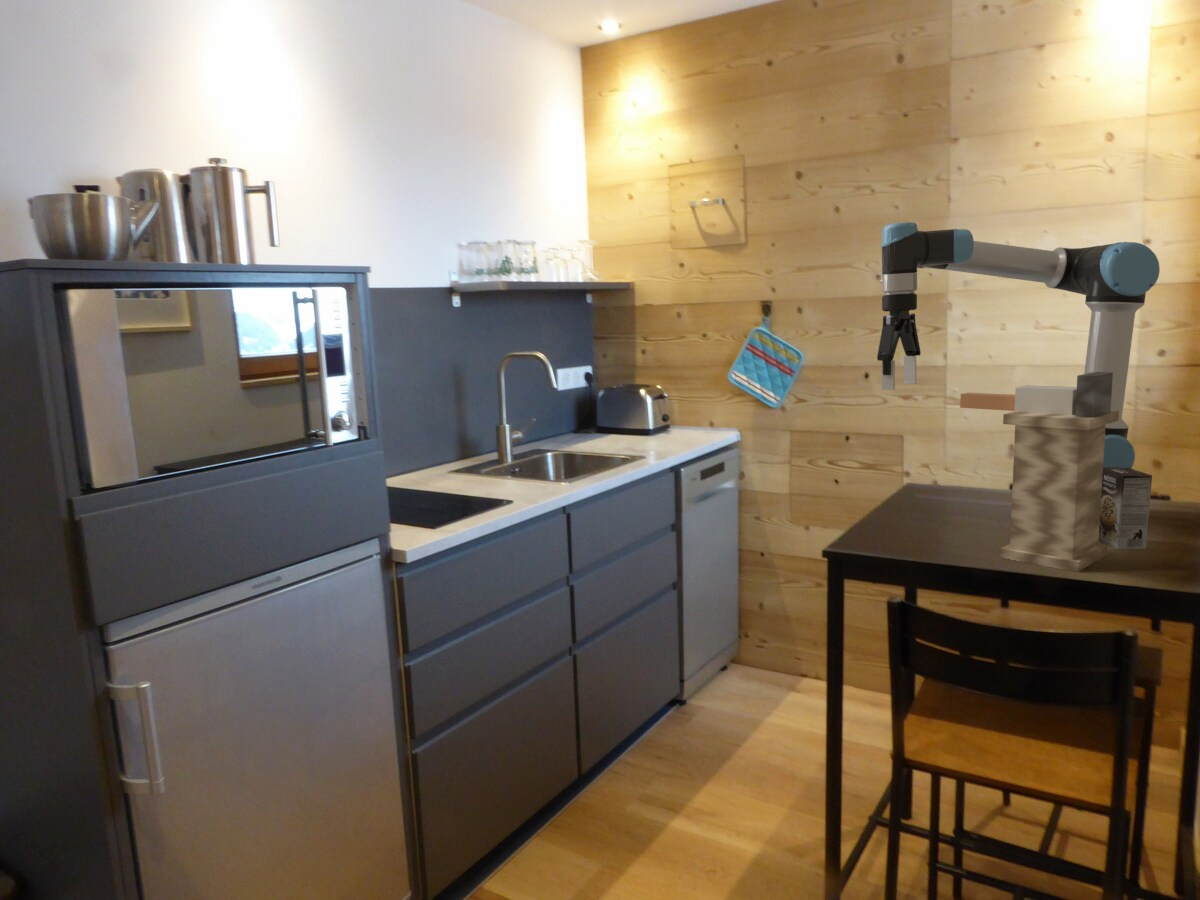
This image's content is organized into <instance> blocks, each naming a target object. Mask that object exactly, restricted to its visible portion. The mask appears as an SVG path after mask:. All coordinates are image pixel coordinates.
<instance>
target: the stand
mask: <svg viewBox="0 0 1200 900" xmlns="http://www.w3.org/2000/svg"><path fill="white" fill-rule="evenodd" d="M1076 376H1077V377H1076V387H1077V392H1076V410H1075V414H1074V415H1062V414H1045V413H1029V412H1015V411H1010V412H1008V413H1004V414H1003V416H1002V417H1003V418H1002V424H1003V425H1009V426H1010V425H1013V426H1014V443H1013V444H1014V446H1013V447H1014V448H1013V467H1012V469H1013V470H1012V486H1011V487H1012V488H1011V489H1012V491H1011V511H1010V512H1011V514H1010V532H1009V533H1010V536H1009V537H1010V539H1009V544H1007V545H1005V546H1003V547H1001V548H1000V550H999V558H1000V559H1003V558H1004V559H1005V560H1008V559H1010V561H1014V560H1016V561H1015V562H1020V561H1022V562H1021V563H1025V562H1027V563H1026V564H1031V563H1032V564H1031V565H1036V564H1037V565H1038V566H1043V567H1048V568H1055V569H1059V570H1063V571H1064V570H1065V571H1071V572H1076V573H1079V572H1080V571H1082V570H1084V569H1085V568H1087V567H1089V566H1090V565H1092V564H1094V563H1095V562H1096V561H1098V560H1099V559H1102V558H1103V557H1104V556H1106V555H1107V554H1108V550H1109V549H1108V548H1109V545H1108V544H1106V543H1103V542H1102V543H1100V542H1099V541H1100V540H1099V526H1100V509H1101V492H1102V476H1103V459H1104V443H1105V426H1106V424H1110V423H1113V422H1116V421H1118V419H1119V411H1113V410H1111V395H1112V379H1113V372H1093V373H1088V374H1084V373H1083V374H1078V375H1076Z"/></svg>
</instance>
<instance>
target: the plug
mask: <svg viewBox="0 0 1200 900" xmlns="http://www.w3.org/2000/svg"><path fill="white" fill-rule="evenodd" d="M1076 392H1077V386H1059V385H1058V386H1056V385H1055V386H1053V385H1028V384H1027V385H1021V386H1017V387H1015V391H1014V394H1006V393H983V392H965V393H964V392H963V393H960V403H959V404H960V405H959V407H960V408H961V409H975V410H993V411H1009V412H1029V413H1045V414H1062V415H1074V414H1075V410H1076Z"/></svg>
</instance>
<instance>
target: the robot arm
mask: <svg viewBox="0 0 1200 900" xmlns="http://www.w3.org/2000/svg"><path fill="white" fill-rule="evenodd" d="M881 232H882V233H881V234H882V235H881V267H882V268H881V270H882V271H881V273H882V274H881V276H882V277H881V279H880V281H879V282H880V284H881V287H882V289H881V291H882V293H884V294H883V295H882V297H881V303H882V304H881V310H882V311H883V312H889V314H888V315H883V317H882V328H881V334H880V339H879V345H878V351H877V355H876V356H877V357H876V359H877V361H878V362H880V361H881V390H882V391H895V390H896V360H894V358H895V354H896V350H897V347H898V344H899V340H900V342H901V345H902V349H903V351H904V354H905V356H903V385H916V384H917V356H921V353H922V352H921V347H920V341H919V336H918V335H919V334H918V330H917V324H916V314H915V313H910V311H916V310H917V309H918V295H917V293H915V292H916V291H917V290H918V269H924V268H928V269H936V270H944V271H953V272H960V273H968V274H976V275H983V276H990V277H992V276H993V277H998V278H1005V279H1014V280H1020V281H1029V282H1036V283H1044V284H1045V286H1046V287H1047V288H1048V289H1056V290H1060V291H1067V292H1070V293H1075V294H1079V295H1084V296H1085V302H1084V303H1085V305H1086V306H1087V308H1089V310H1090V311H1091V312H1090V313H1091V314H1090V315H1091V316H1090V322H1089V331H1088V338H1087V346H1086V347H1087V349H1086V357H1085V364H1084V372H1083V374H1088V373H1093V372H1113V379H1112V395H1111V410H1113V411H1119V419H1118V421H1116V422H1113V423H1110V424H1106V426H1105V443H1104V459H1103V468H1108V467H1116V468H1131V469H1133V468H1134V467H1133V466H1134V464H1135V460H1136V450H1135V448H1134V446H1133V445H1132V443H1131V442H1130V440H1128V434H1129V425H1128V424H1127V423H1126V421H1125V420H1124V418H1123V413H1124V412H1123V411H1124V402H1125V395H1126V387H1127V380H1128V373H1129V365H1130V364H1129V363H1130V356H1131V349H1132V342H1133V334H1134V327H1135V326H1134V325H1135V317H1136V313H1137V311H1138V310H1140V309H1141V308H1143V306H1145V301H1146V293H1147V292H1148V291H1150V290H1151V289H1152V287H1154V286H1155V284H1156V283H1157V281H1158V280H1159V278H1160V277H1159V276H1160V270H1161V269H1160V268H1161V266H1160V262H1159V260H1158V257H1157V255H1156V254H1155V252H1153V251H1152V249H1151V248H1150V247H1148V246H1147V245H1145V244H1144V243H1143V244H1142V243H1141V242H1140V243H1139V242H1133V241H1123V242H1122V241H1120V242H1119V241H1118V242H1115V243H1110V244H1103V245H1096V246H1087V247H1081V248H1080V247H1079V248H1077V247H1075V248H1068V247H1057V248H1055V249H1053V250H1048V249H1041V248H1040V249H1039V248H1033V247H1024V246H1018V245H1017V246H1016V245H1008V244H1000V243H995V242H994V243H993V242H985V241H979V240H974V236H973V234H972V232H971V231H970V230H969V229H966V228H959V229H958V228H953V229H940V230H936V229H935V230H927V231H923V230H919V229H918V224H917V223H916V222H912V221H910V222H908V221H907V222H894V223H890V224H889V223H888V224H885V226H883V229H882V231H881Z"/></svg>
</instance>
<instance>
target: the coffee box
mask: <svg viewBox="0 0 1200 900" xmlns="http://www.w3.org/2000/svg"><path fill="white" fill-rule="evenodd" d="M1152 482H1153V475H1152V474H1149V473H1145V472H1142V471H1139V470H1136V469H1134V468H1116V467H1108V468H1103V476H1102V492H1101V509H1100V526H1099V541H1100V542H1102V543H1103V544H1108V546H1110V547H1112V548H1114V549H1116V550H1118V551H1119V550H1146V549H1147V547H1148V546H1147V545H1148V544H1147V543H1148V533H1149V532H1148V531H1149V520H1150V519H1149V518H1150V508H1151V496H1152V493H1151V492H1152Z"/></svg>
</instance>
